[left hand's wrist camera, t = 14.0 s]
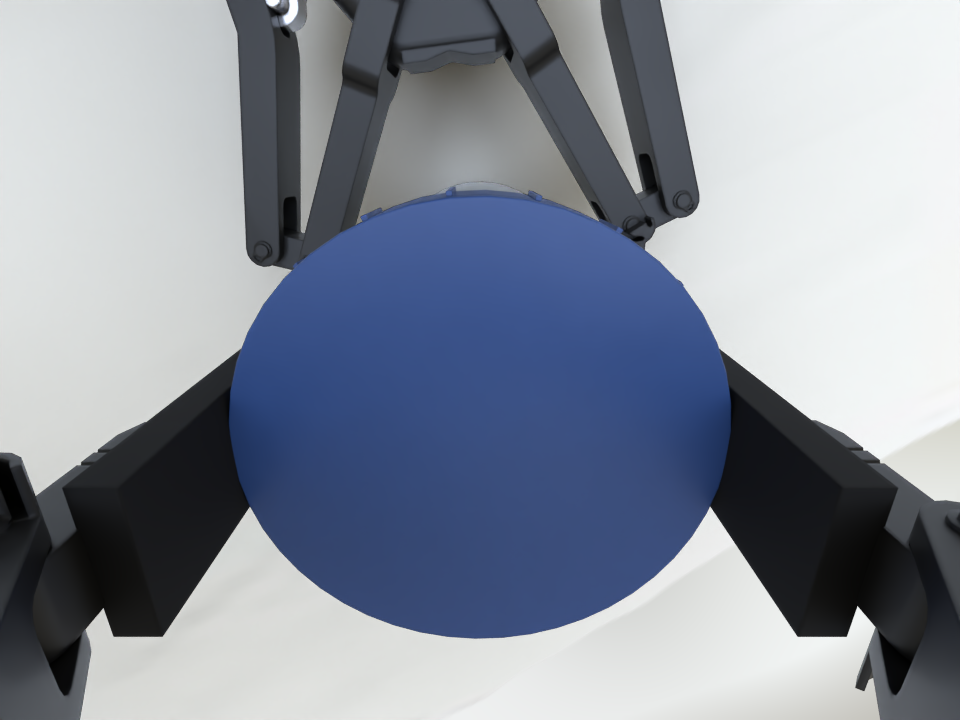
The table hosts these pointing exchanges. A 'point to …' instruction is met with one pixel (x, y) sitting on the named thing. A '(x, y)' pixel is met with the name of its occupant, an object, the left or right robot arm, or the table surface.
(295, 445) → the lid
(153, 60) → the table surface
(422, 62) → the right robot arm
